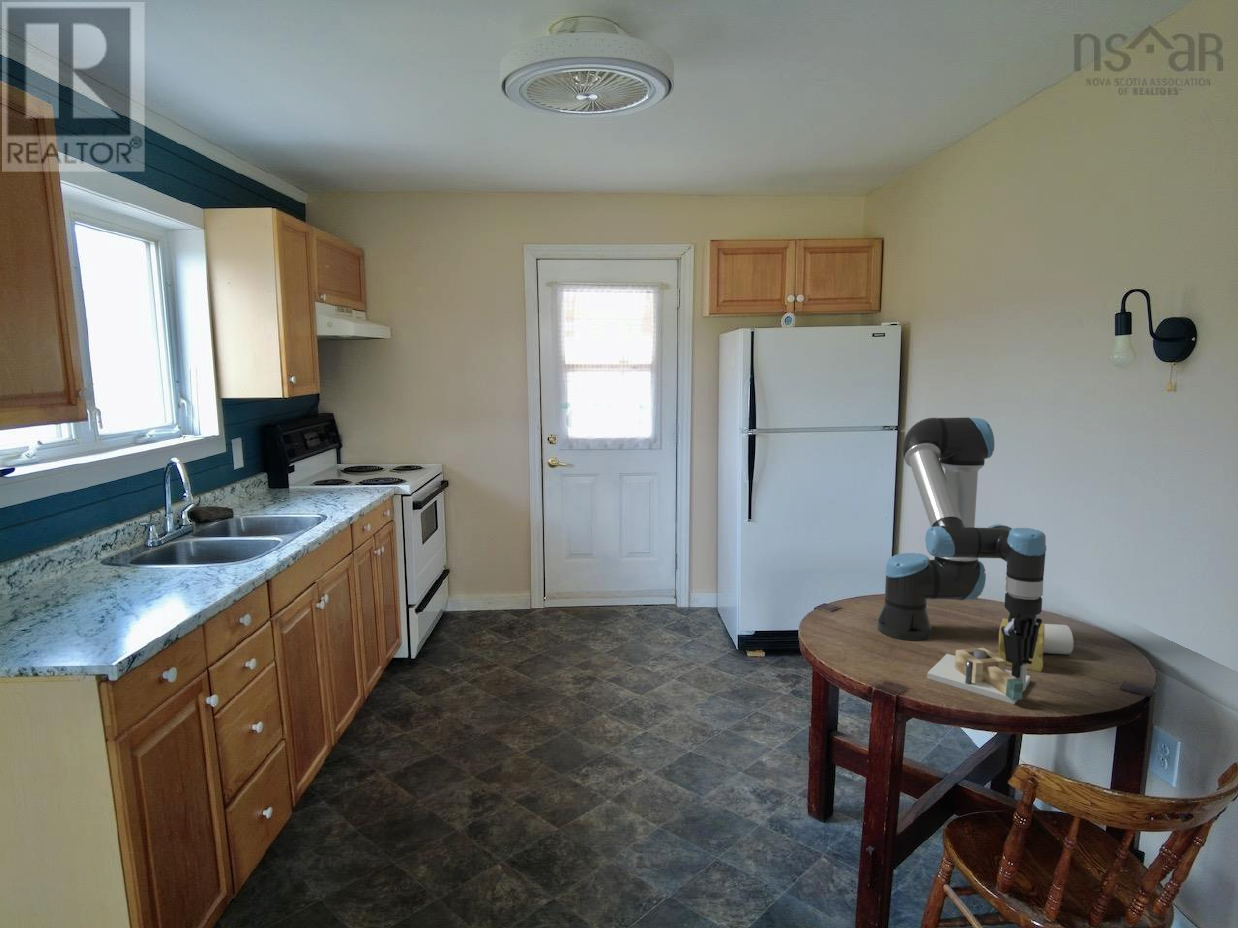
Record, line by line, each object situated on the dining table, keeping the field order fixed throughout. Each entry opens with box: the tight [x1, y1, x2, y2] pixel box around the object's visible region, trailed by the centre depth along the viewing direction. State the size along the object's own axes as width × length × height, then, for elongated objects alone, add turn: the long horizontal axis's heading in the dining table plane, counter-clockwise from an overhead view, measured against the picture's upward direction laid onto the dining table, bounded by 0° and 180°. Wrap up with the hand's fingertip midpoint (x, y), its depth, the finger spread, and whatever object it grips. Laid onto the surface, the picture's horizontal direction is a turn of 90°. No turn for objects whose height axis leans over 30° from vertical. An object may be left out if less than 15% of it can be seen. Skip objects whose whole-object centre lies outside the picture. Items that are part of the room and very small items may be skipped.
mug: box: [1043, 623, 1074, 656], centre depth 189 cm, size 12×10×8 cm
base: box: [926, 649, 1031, 705], centre depth 171 cm, size 20×16×8 cm
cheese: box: [997, 617, 1045, 673], centre depth 182 cm, size 10×11×10 cm
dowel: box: [965, 661, 973, 684], centre depth 167 cm, size 1×1×6 cm
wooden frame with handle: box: [954, 647, 1024, 701], centre depth 167 cm, size 18×8×5 cm, turn 8°
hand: (1017, 688), depth 161 cm, fingers closed
